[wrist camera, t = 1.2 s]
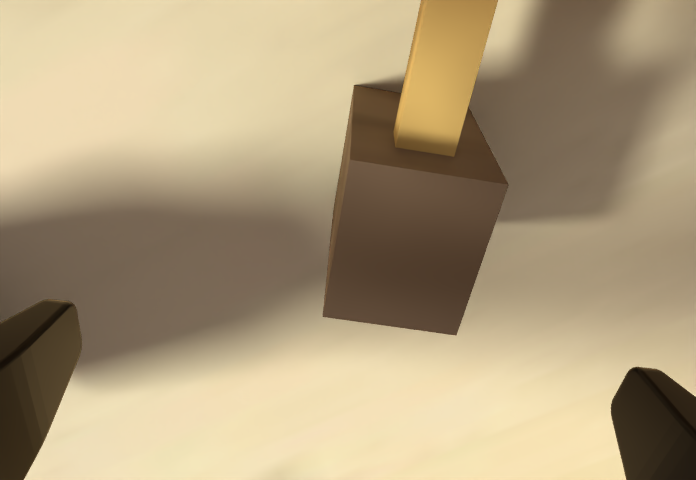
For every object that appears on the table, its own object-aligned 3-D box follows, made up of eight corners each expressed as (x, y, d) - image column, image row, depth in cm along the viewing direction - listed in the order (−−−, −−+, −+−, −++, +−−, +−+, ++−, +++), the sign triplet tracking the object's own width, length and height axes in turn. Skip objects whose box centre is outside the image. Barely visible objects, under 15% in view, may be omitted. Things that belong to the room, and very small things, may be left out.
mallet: (432, 225, 22) (456, 335, 16) (333, 210, 21) (322, 316, 16) (545, -180, 15) (651, -230, 9) (402, -208, 15) (425, -276, 9)
